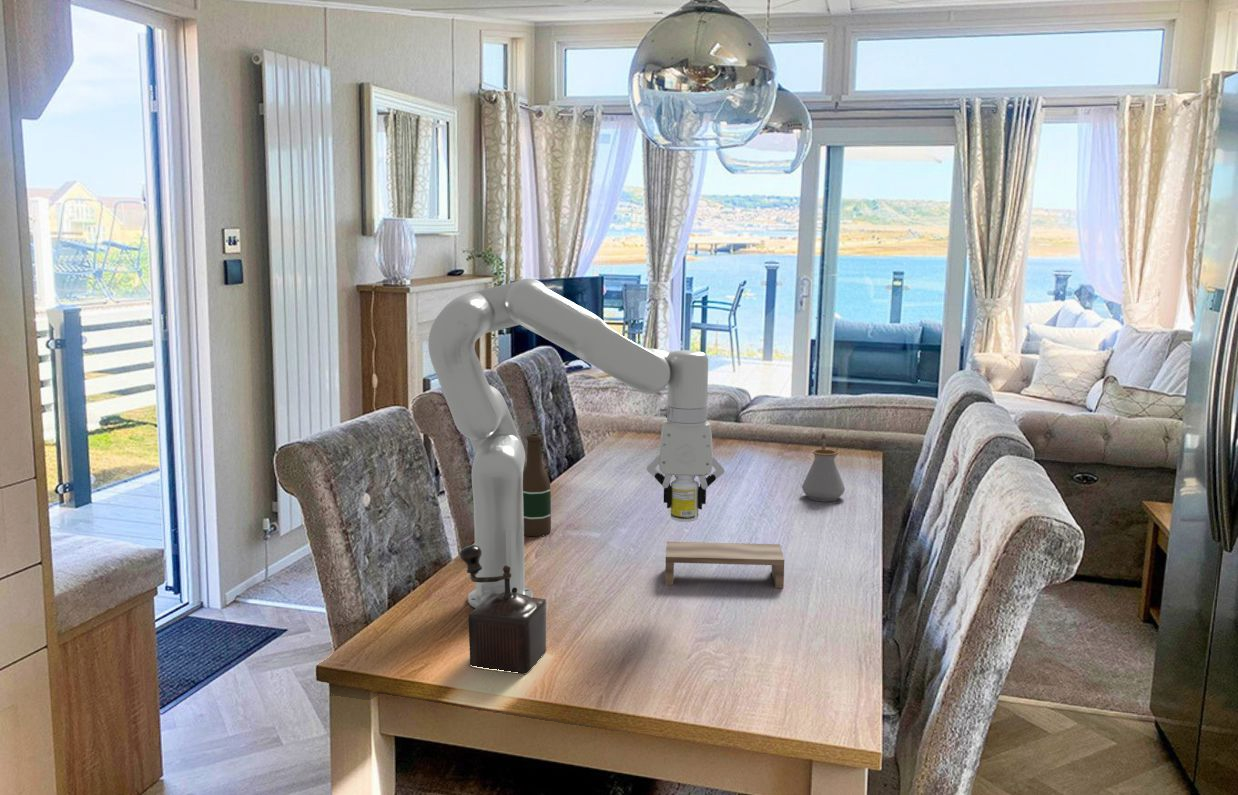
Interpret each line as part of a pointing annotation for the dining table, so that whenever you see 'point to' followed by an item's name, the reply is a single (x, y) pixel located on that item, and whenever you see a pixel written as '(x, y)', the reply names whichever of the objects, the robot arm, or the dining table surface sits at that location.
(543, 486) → the beer bottle
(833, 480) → the coffee pot
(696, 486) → the supplement bottle
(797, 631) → the dining table surface
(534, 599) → the manual coffee grinder
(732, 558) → the wooden shelf
